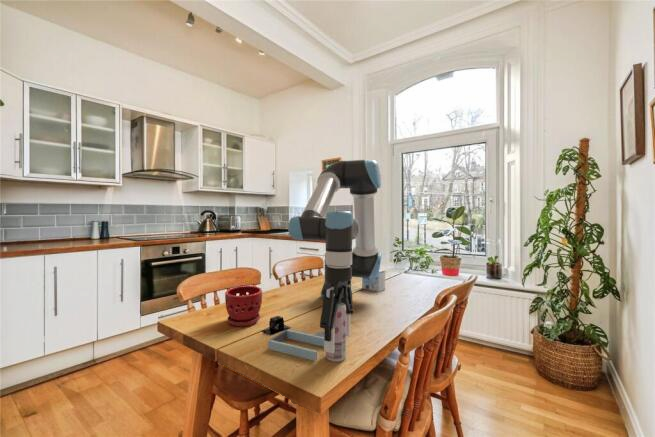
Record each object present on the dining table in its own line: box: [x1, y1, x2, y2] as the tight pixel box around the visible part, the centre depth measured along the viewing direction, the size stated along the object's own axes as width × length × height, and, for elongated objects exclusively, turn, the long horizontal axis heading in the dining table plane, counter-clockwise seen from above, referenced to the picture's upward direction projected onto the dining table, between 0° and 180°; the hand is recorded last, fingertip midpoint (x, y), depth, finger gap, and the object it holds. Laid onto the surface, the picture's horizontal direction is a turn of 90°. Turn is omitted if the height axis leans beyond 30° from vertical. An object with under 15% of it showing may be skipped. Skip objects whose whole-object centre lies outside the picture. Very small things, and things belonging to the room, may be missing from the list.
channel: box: [267, 329, 324, 362], centre depth 89 cm, size 10×16×2 cm, turn 64°
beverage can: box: [325, 302, 347, 363], centre depth 84 cm, size 6×6×15 cm
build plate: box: [260, 315, 292, 337], centre depth 103 cm, size 12×7×5 cm, turn 136°
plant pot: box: [224, 285, 263, 327], centre depth 109 cm, size 13×13×12 cm
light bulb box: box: [361, 268, 386, 293], centre depth 158 cm, size 11×7×11 cm, turn 50°
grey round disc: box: [313, 331, 324, 337], centre depth 96 cm, size 8×8×1 cm
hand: (337, 343), depth 84 cm, fingers open, 11 cm apart
